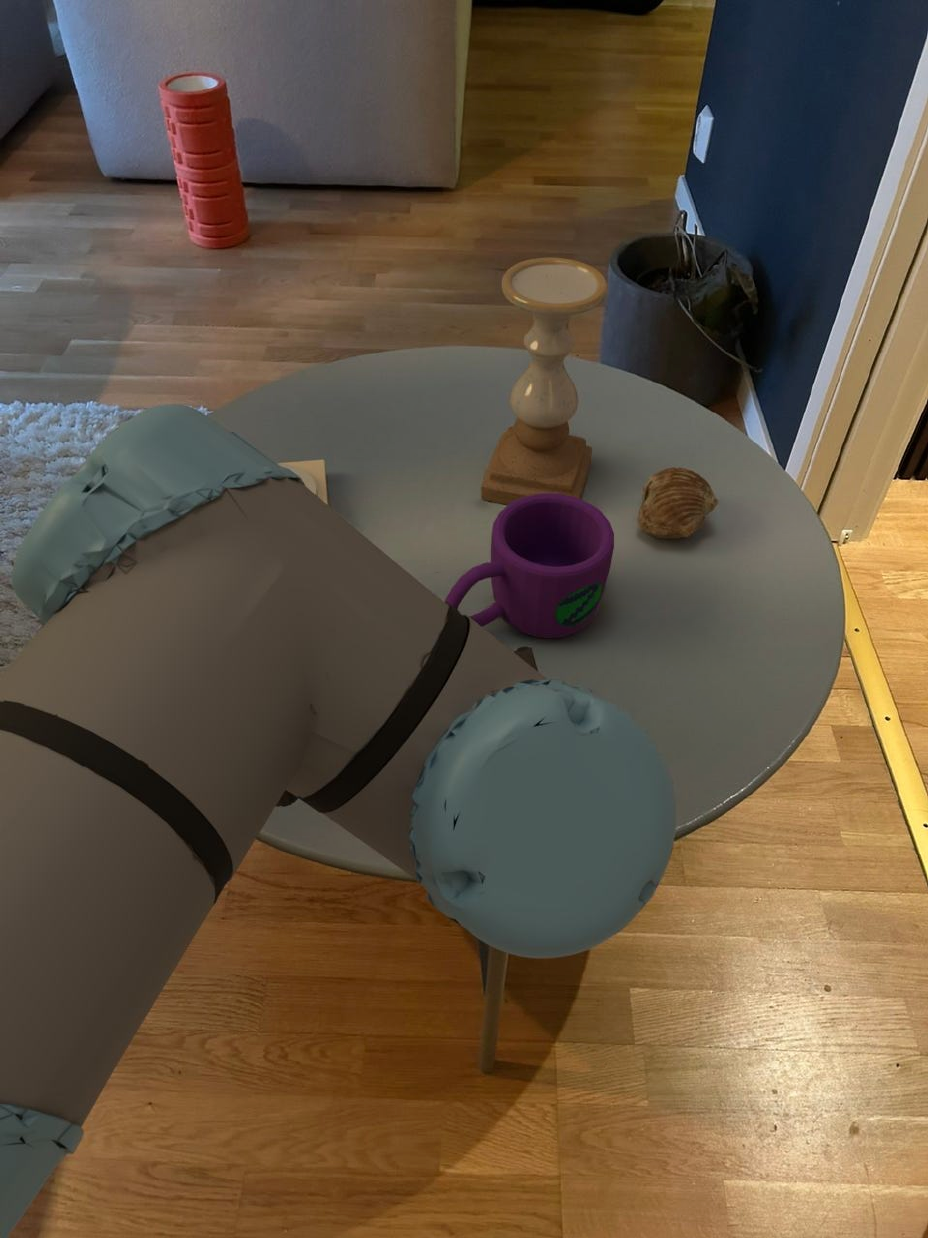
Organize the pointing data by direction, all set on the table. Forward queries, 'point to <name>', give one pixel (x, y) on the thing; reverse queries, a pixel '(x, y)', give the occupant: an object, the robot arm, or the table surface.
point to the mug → (544, 565)
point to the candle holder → (544, 384)
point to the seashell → (675, 503)
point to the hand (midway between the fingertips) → (353, 705)
